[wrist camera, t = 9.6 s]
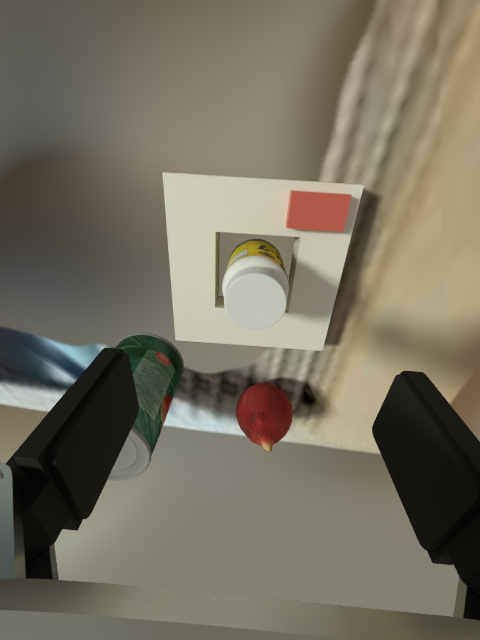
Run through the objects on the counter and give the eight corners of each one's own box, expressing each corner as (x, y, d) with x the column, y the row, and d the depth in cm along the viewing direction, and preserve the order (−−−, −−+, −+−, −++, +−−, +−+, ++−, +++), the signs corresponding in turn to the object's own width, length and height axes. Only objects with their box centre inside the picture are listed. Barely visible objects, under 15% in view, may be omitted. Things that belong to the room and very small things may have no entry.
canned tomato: (118, 322, 28) (45, 402, 18) (191, 345, 29) (158, 432, 19) (111, 377, 31) (47, 466, 22) (175, 395, 32) (141, 489, 23)
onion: (233, 399, 32) (227, 462, 25) (245, 362, 29) (242, 422, 22) (279, 409, 33) (286, 473, 26) (295, 374, 30) (307, 435, 23)
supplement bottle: (292, 267, 24) (309, 309, 17) (252, 298, 26) (251, 348, 18) (258, 225, 22) (260, 250, 15) (218, 261, 24) (202, 299, 17)
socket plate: (172, 172, 21) (158, 172, 18) (352, 183, 20) (369, 185, 17) (181, 326, 27) (172, 346, 24) (317, 336, 27) (324, 357, 24)
